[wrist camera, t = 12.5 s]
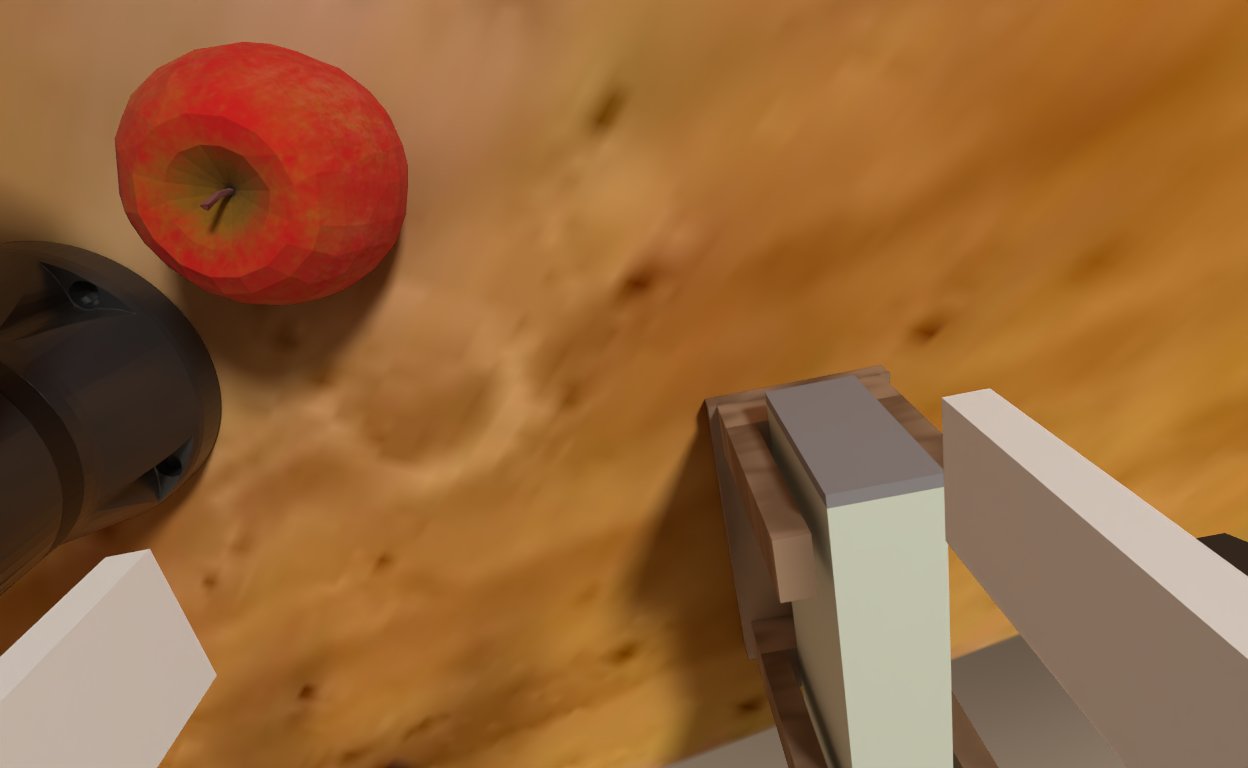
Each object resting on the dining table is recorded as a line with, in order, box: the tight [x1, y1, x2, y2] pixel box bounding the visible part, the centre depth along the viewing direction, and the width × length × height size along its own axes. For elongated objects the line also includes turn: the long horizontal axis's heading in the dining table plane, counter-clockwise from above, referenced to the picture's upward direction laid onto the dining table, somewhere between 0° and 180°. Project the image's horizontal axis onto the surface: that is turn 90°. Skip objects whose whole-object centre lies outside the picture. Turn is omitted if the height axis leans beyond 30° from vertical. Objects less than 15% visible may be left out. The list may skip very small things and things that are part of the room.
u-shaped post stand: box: [705, 365, 998, 768], centre depth 37 cm, size 10×18×14 cm, turn 11°
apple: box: [115, 42, 408, 305], centre depth 30 cm, size 11×11×11 cm
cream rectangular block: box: [765, 375, 953, 768], centre depth 35 cm, size 4×21×10 cm, turn 11°
